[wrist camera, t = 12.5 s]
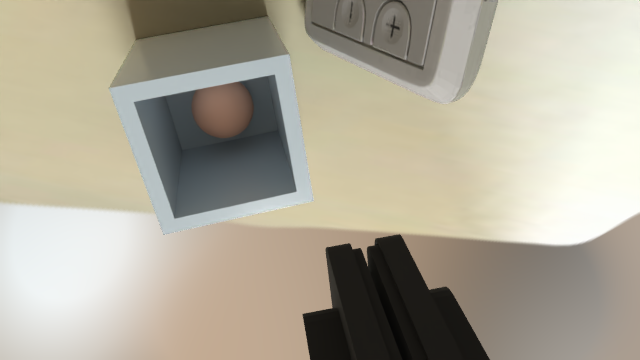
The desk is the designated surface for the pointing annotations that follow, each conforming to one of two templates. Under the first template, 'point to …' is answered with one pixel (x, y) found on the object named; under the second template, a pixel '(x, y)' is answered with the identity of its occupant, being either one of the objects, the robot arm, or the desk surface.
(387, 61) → the digital clock
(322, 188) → the desk surface
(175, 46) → the light blue pen cup
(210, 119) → the ball
